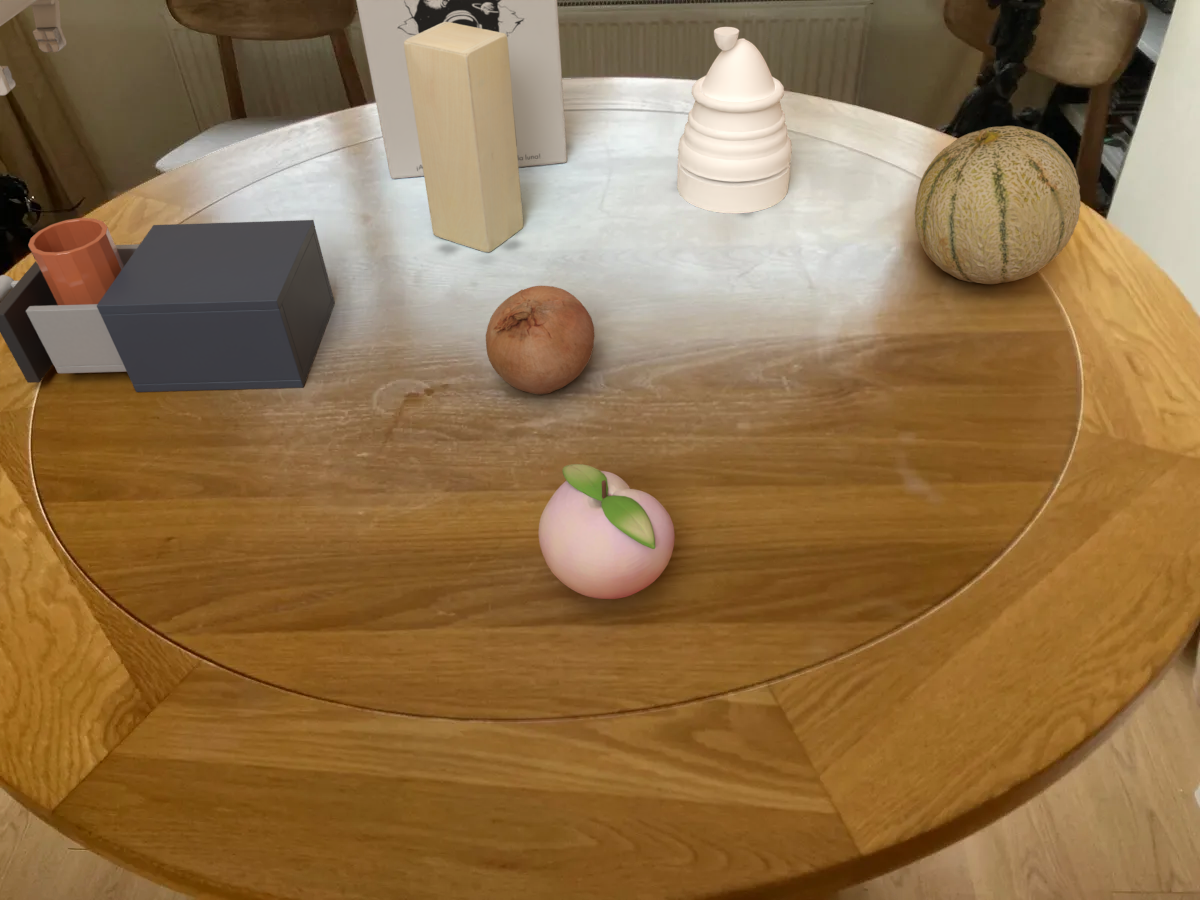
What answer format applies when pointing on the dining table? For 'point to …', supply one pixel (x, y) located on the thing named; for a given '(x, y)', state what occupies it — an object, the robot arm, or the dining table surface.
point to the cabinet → (220, 306)
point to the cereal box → (530, 20)
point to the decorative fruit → (604, 534)
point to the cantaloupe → (997, 205)
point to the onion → (540, 339)
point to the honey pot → (735, 134)
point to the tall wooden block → (466, 133)
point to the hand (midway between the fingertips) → (29, 70)
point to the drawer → (55, 328)
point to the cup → (77, 260)
